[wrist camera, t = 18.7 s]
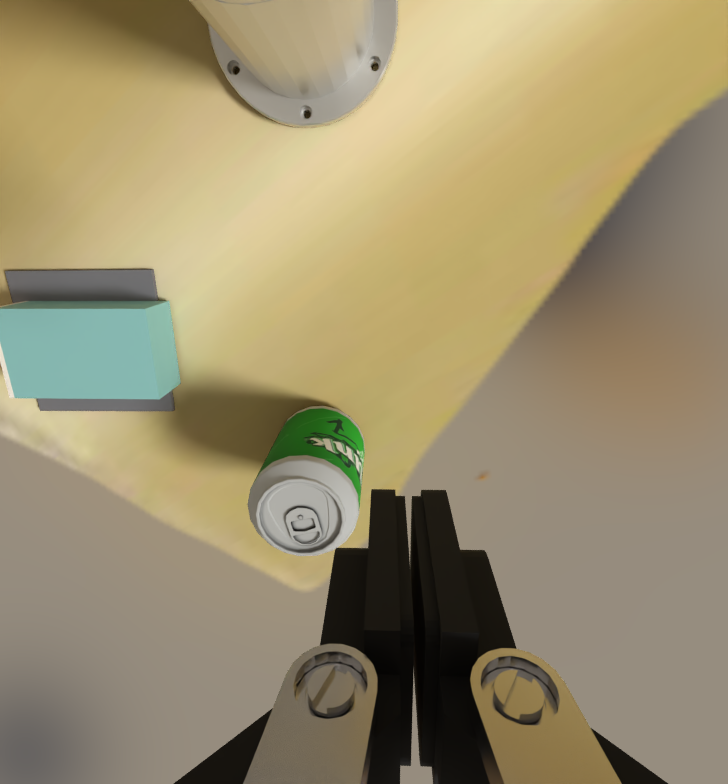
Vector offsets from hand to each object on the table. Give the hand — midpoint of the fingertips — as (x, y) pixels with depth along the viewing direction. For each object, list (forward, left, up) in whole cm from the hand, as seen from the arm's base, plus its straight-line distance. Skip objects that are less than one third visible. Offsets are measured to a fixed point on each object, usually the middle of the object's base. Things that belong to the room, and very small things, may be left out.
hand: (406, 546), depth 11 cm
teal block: (+2, -18, -27) cm, 32 cm away
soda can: (+11, -6, -29) cm, 32 cm away
